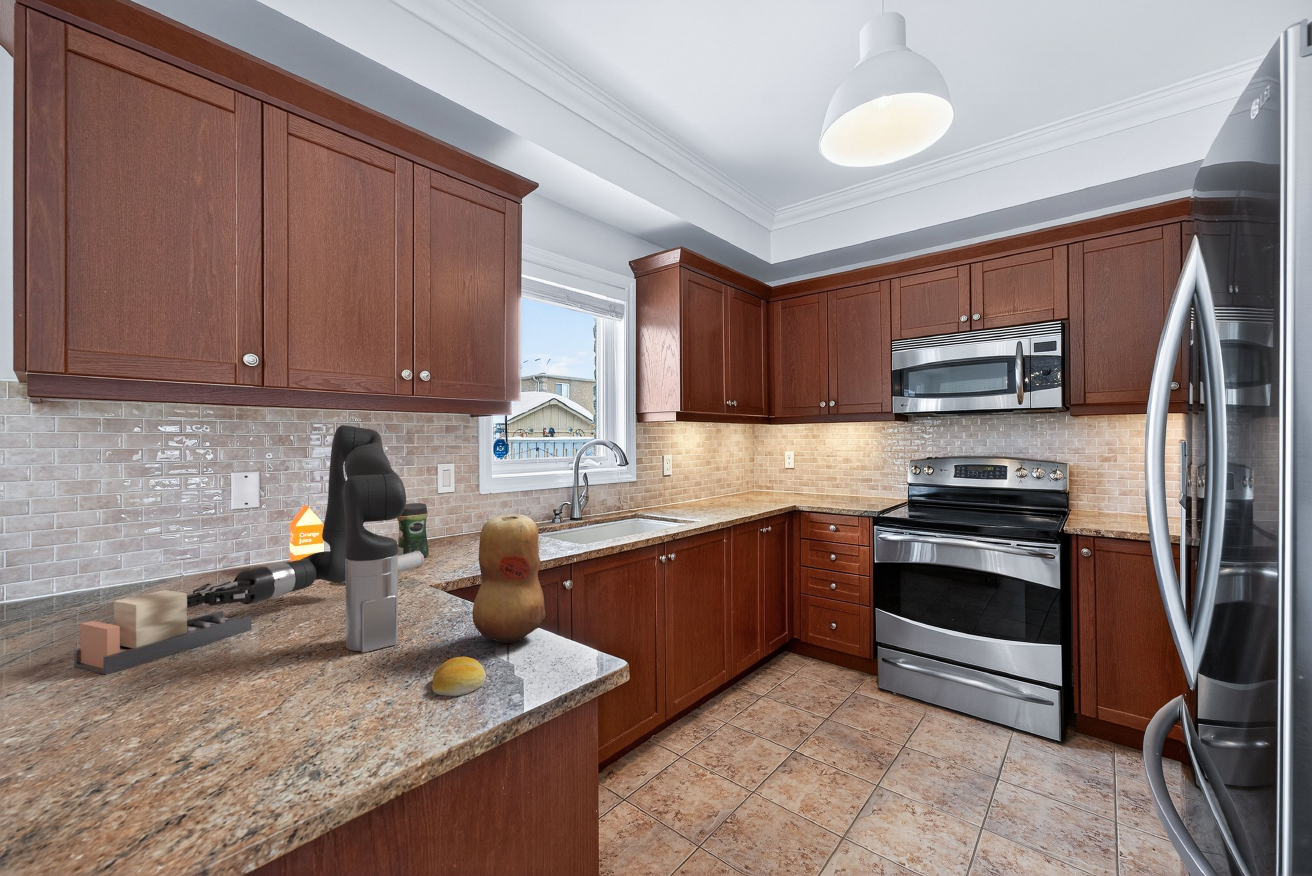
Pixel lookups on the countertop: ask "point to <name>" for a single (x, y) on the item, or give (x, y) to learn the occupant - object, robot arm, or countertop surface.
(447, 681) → the bread roll
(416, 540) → the coffee jar
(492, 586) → the butternut squash
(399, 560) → the tube
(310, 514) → the orange juice
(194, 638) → the roller bed
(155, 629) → the tan wooden block
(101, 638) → the end stop
